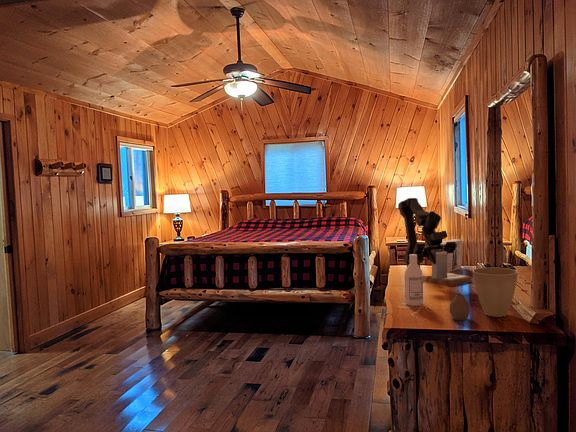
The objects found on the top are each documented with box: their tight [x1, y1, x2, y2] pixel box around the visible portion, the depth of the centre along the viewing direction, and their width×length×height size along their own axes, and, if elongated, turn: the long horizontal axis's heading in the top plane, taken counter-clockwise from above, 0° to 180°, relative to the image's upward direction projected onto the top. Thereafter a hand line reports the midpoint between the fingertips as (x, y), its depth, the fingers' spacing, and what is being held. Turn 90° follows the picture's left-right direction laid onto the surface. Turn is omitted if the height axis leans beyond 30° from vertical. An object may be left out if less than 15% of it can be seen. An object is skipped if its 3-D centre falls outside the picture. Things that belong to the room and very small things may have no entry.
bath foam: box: [404, 254, 424, 307], centre depth 189 cm, size 7×7×20 cm
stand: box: [426, 272, 472, 287], centre depth 228 cm, size 14×14×3 cm
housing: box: [431, 250, 448, 279], centre depth 214 cm, size 5×5×12 cm
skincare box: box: [441, 238, 463, 273], centre depth 253 cm, size 21×6×16 cm, turn 132°
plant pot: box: [472, 267, 519, 318], centre depth 171 cm, size 15×15×16 cm
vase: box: [449, 293, 471, 321], centre depth 168 cm, size 7×7×9 cm
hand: (440, 263), depth 212 cm, fingers closed on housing, 5 cm apart
